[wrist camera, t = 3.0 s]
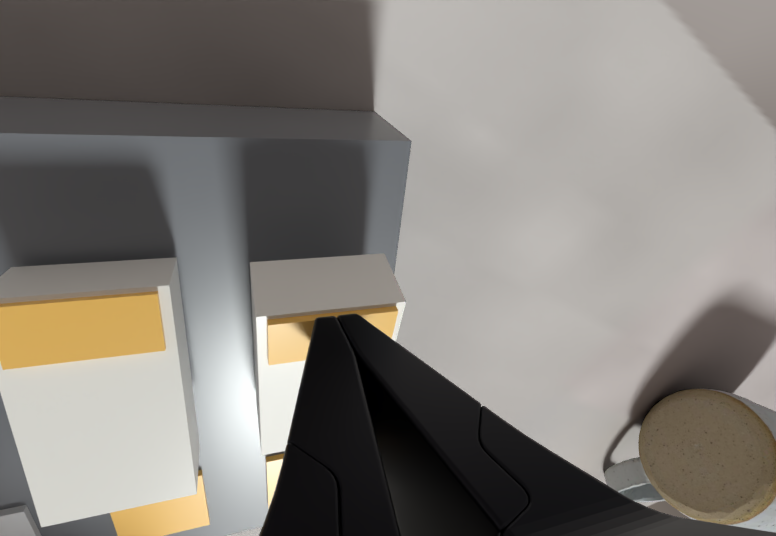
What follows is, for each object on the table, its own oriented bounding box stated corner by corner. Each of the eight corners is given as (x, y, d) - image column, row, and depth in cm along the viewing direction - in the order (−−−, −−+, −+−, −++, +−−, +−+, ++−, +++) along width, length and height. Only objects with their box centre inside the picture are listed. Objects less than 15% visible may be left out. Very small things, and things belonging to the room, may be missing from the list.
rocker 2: (358, 385, 14) (373, 438, 13) (256, 402, 13) (262, 460, 12) (384, 253, 11) (408, 306, 9) (249, 262, 10) (256, 322, 8)
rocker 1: (199, 445, 12) (196, 499, 10) (64, 470, 11) (38, 533, 9) (176, 257, 10) (168, 288, 8) (11, 267, 9) (-33, 303, 7)
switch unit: (346, 439, 20) (365, 506, 17) (-38, 515, 16) (-88, 619, 13) (374, 111, 13) (414, 143, 10) (-308, 83, 9) (-529, 127, 6)
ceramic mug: (689, 355, 26) (837, 475, 20) (747, 382, 30) (884, 488, 24) (570, 475, 29) (663, 609, 23) (636, 484, 33) (731, 600, 27)
